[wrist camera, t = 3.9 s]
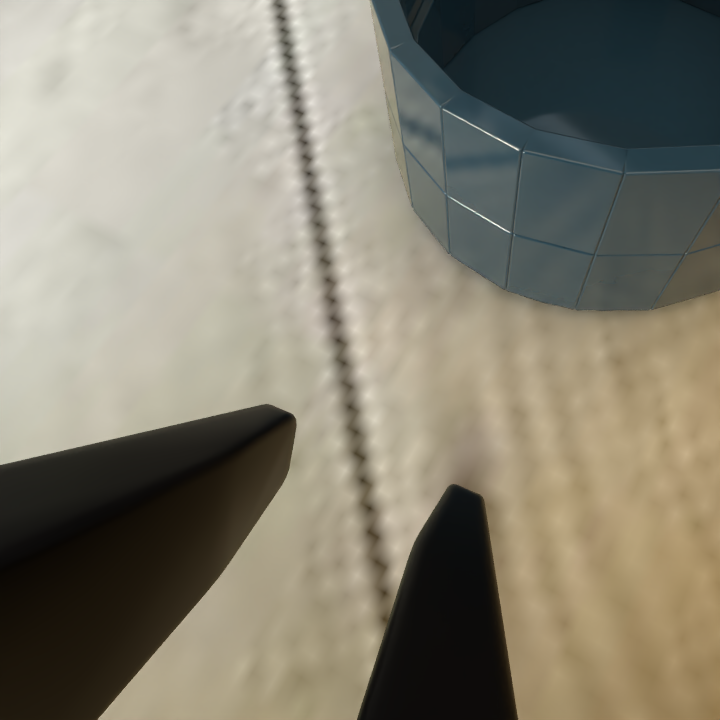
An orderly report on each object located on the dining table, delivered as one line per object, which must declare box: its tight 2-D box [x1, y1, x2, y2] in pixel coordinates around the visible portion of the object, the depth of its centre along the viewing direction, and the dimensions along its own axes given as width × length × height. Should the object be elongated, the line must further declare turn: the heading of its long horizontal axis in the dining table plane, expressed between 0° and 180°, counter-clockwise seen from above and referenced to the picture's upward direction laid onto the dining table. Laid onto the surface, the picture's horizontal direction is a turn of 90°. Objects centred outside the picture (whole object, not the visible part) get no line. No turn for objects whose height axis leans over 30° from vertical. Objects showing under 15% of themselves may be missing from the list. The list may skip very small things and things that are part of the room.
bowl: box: [369, 0, 720, 311], centre depth 20 cm, size 14×14×8 cm
